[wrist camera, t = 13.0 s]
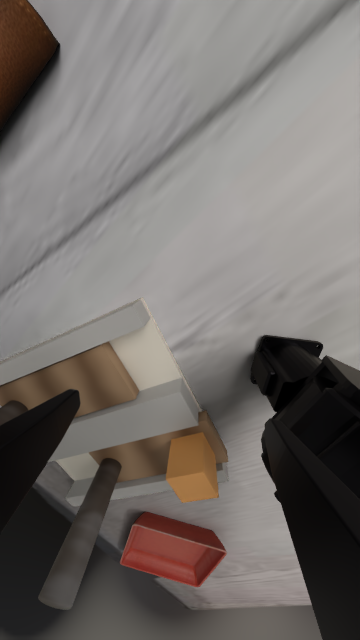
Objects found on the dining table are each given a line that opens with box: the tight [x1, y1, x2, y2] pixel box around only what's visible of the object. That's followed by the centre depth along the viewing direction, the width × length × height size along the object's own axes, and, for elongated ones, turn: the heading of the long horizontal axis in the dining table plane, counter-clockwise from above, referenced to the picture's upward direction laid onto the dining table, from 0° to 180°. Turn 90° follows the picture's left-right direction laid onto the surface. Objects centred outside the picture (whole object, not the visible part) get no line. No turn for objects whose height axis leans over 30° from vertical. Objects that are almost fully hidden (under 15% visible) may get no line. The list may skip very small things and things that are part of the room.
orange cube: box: [166, 432, 219, 503], centre depth 22 cm, size 4×4×4 cm
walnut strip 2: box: [38, 411, 228, 610], centre depth 21 cm, size 19×8×13 cm, turn 114°
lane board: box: [0, 297, 229, 507], centre depth 26 cm, size 28×27×3 cm
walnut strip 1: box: [0, 341, 139, 425], centre depth 18 cm, size 19×8×13 cm, turn 114°
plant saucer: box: [120, 512, 227, 587], centre depth 37 cm, size 18×18×3 cm
